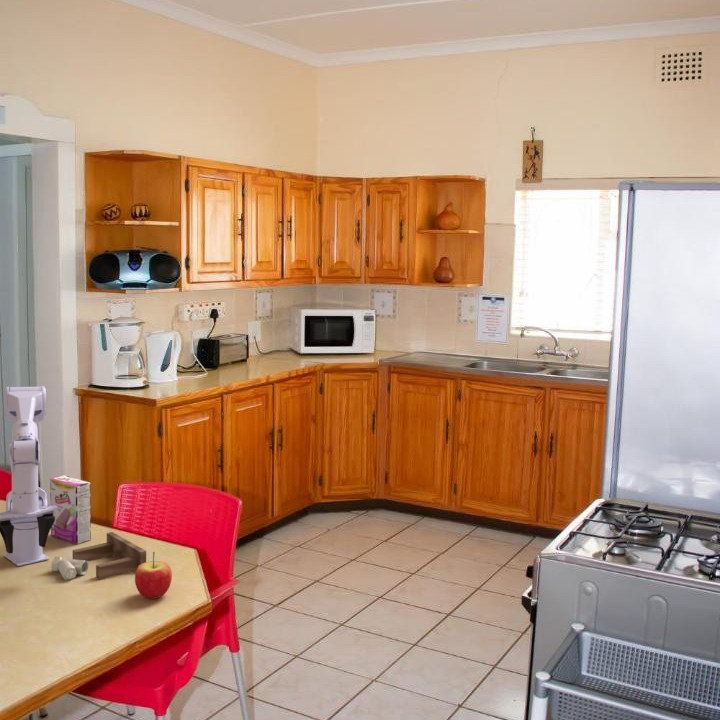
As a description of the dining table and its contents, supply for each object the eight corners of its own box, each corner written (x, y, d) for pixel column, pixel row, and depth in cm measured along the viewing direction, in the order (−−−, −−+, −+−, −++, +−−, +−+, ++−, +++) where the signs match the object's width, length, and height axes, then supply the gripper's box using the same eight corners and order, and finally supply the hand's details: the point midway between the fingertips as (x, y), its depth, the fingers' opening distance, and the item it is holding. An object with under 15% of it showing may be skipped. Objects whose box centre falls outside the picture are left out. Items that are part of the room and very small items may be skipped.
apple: (172, 588, 201) (172, 547, 200) (170, 602, 193) (171, 560, 191) (136, 589, 200) (136, 548, 198) (133, 604, 191) (133, 561, 190)
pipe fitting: (73, 584, 203) (88, 572, 209) (72, 569, 202) (88, 557, 208) (43, 580, 205) (59, 568, 211) (42, 565, 204) (58, 553, 210)
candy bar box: (49, 536, 233) (48, 478, 231) (64, 532, 237) (64, 474, 235) (76, 545, 227) (76, 485, 225) (91, 540, 231) (91, 481, 229)
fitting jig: (70, 559, 217) (69, 540, 216) (112, 550, 224) (111, 531, 224) (102, 581, 204) (102, 561, 203) (146, 570, 211) (146, 550, 211)
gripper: (0, 499, 190) (1, 559, 191) (62, 490, 200) (63, 547, 201) (-12, 493, 195) (-11, 552, 196) (50, 485, 205) (50, 541, 206)
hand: (26, 549), depth 199 cm, fingers open, 7 cm apart
